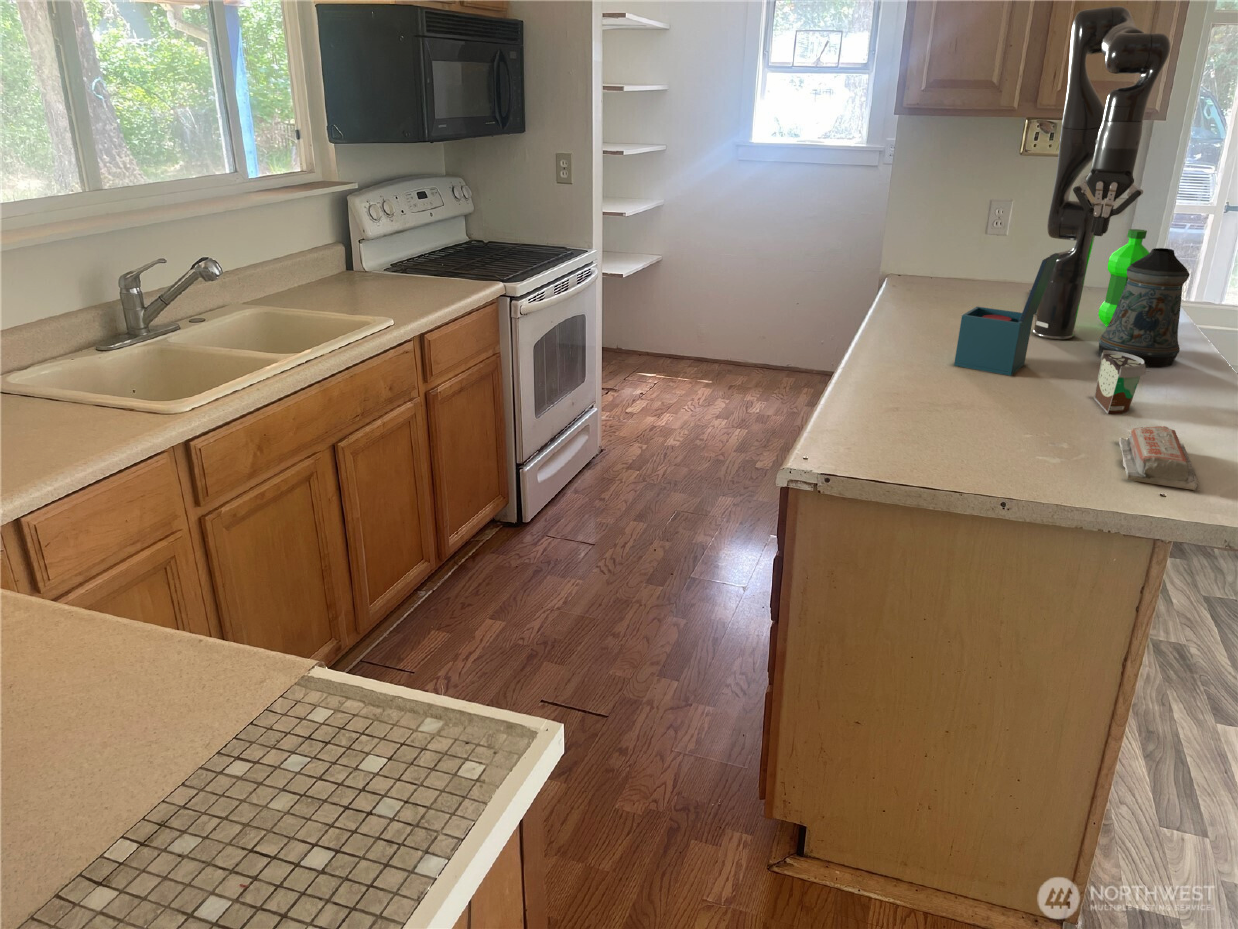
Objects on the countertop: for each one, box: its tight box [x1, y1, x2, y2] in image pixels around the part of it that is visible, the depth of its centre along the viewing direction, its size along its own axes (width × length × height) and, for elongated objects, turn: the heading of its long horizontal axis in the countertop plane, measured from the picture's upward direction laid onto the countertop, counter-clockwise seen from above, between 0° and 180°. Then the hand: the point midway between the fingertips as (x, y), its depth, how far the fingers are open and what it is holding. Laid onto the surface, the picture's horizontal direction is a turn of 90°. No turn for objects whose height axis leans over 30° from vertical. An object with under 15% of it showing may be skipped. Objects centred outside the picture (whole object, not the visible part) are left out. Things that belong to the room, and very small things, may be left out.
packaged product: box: [1118, 425, 1199, 491], centre depth 146 cm, size 18×5×10 cm
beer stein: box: [1098, 247, 1190, 368], centre depth 201 cm, size 16×19×25 cm
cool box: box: [953, 306, 1035, 377], centre depth 198 cm, size 13×11×12 cm
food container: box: [1093, 350, 1146, 415], centre depth 172 cm, size 12×6×10 cm, turn 168°
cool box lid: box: [1019, 252, 1059, 322], centre depth 188 cm, size 14×11×1 cm
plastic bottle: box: [1098, 228, 1150, 327], centre depth 227 cm, size 10×10×25 cm
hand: (1097, 235), depth 178 cm, fingers closed
